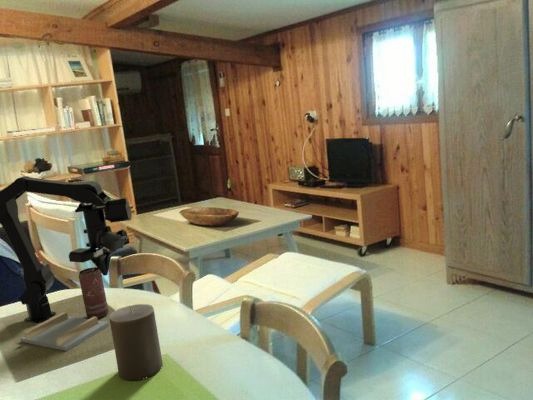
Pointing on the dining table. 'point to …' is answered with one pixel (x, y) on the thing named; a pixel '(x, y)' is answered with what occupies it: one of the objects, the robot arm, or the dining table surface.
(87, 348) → the dining table surface
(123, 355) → the pillar candle
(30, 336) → the tray
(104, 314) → the can
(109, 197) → the robot arm
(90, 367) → the dining table surface
